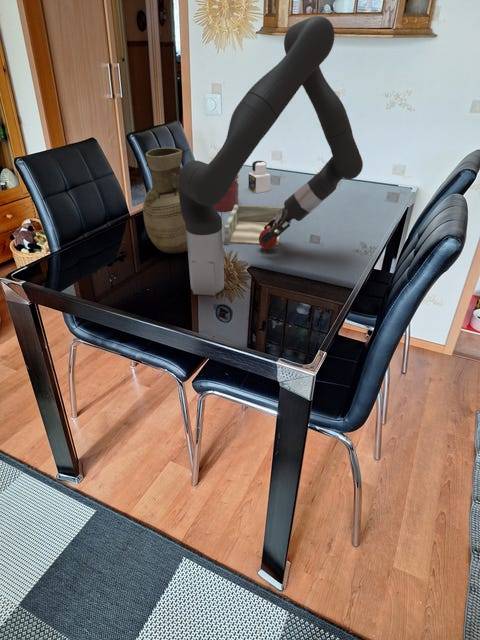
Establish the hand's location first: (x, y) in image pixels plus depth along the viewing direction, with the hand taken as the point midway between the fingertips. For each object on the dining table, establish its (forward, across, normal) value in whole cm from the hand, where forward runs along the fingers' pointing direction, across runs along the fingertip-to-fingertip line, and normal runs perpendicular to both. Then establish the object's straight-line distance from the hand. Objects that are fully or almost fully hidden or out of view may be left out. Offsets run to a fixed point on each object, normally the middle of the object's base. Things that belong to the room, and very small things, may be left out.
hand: (264, 235), depth 136 cm
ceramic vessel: (+24, +1, -17) cm, 29 cm away
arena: (+6, -13, 0) cm, 15 cm away
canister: (+18, -38, -11) cm, 44 cm away
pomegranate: (+3, 0, +4) cm, 5 cm away
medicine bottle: (+10, -60, -3) cm, 61 cm away
